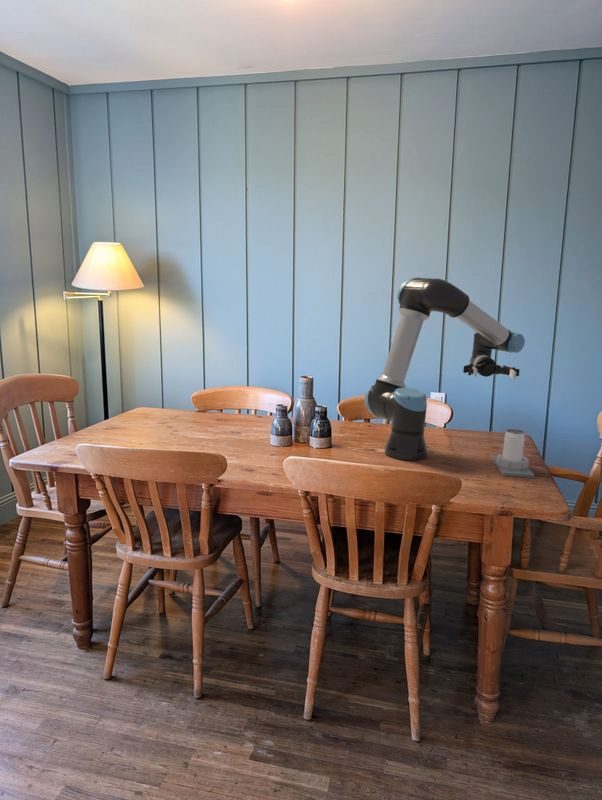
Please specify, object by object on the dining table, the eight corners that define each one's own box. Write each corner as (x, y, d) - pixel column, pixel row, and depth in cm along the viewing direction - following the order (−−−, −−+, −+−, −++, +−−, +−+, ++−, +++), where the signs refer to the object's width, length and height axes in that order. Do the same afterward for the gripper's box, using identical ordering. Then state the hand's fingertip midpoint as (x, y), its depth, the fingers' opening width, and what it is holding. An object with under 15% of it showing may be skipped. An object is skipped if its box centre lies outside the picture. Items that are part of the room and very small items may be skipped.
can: (508, 468, 199) (512, 433, 197) (497, 462, 205) (501, 429, 203) (525, 467, 201) (529, 433, 198) (514, 461, 207) (518, 428, 204)
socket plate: (502, 475, 194) (503, 465, 193) (491, 457, 214) (492, 448, 213) (534, 478, 193) (535, 468, 192) (520, 460, 212) (521, 450, 212)
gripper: (516, 377, 232) (529, 386, 211) (451, 373, 235) (458, 382, 214) (518, 358, 231) (532, 366, 210) (453, 354, 234) (460, 361, 213)
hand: (495, 374), depth 212 cm, fingers open, 13 cm apart
